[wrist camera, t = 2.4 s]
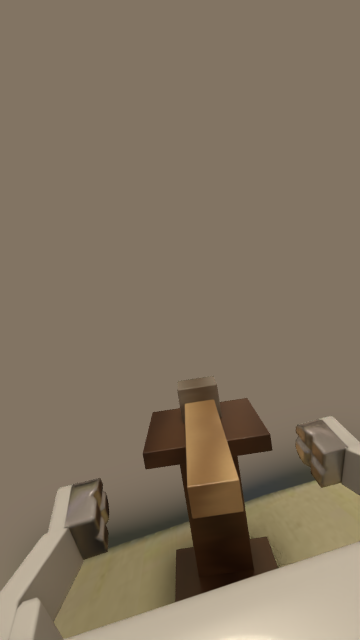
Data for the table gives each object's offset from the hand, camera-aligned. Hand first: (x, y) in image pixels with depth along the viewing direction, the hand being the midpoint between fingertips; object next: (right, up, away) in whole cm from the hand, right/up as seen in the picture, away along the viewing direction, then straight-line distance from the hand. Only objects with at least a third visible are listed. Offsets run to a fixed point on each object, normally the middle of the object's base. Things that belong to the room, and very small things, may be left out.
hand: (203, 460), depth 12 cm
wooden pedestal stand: (+4, -23, +19) cm, 30 cm away
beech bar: (+1, -5, +13) cm, 14 cm away
